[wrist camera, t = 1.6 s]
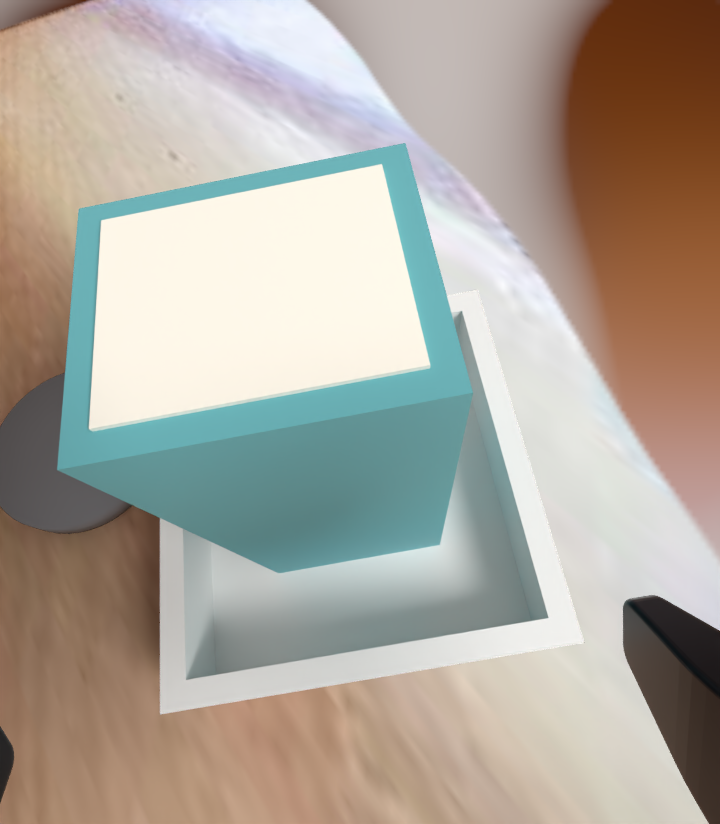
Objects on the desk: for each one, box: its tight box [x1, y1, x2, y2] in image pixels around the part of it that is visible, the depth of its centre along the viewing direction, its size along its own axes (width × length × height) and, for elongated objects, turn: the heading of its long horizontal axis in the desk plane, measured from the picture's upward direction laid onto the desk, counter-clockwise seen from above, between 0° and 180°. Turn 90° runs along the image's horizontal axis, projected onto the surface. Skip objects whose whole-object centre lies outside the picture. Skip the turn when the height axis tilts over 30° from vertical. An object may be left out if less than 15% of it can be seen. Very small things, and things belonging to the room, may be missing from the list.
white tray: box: [160, 290, 585, 714], centre depth 19 cm, size 13×13×3 cm
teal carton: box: [57, 143, 473, 573], centre depth 14 cm, size 5×6×13 cm
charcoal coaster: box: [0, 373, 132, 534], centre depth 22 cm, size 7×7×1 cm
